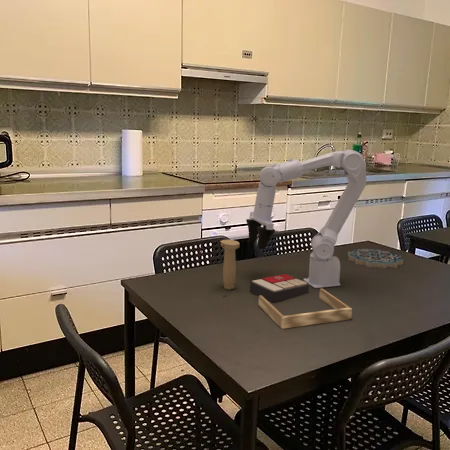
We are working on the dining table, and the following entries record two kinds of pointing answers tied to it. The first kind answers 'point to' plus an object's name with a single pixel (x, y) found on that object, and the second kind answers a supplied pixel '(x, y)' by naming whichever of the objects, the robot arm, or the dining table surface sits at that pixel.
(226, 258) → the handle
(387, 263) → the decorative tile
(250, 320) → the dining table surface
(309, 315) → the box
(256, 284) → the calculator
